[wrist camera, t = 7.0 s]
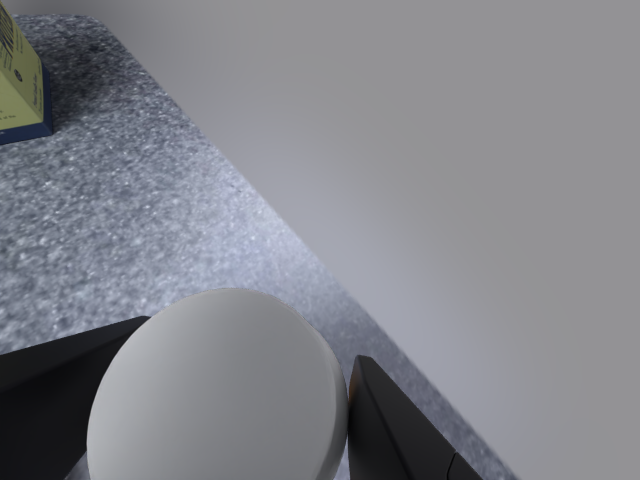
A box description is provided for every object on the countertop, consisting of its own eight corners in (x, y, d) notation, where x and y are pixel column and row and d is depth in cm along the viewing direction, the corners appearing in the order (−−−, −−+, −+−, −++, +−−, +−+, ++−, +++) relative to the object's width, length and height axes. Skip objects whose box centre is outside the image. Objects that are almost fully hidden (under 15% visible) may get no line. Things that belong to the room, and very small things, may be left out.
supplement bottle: (290, 330, 15) (294, 217, 7) (346, 446, 13) (446, 477, 5) (179, 387, 14) (13, 325, 5) (221, 530, 12) (48, 794, 3)
